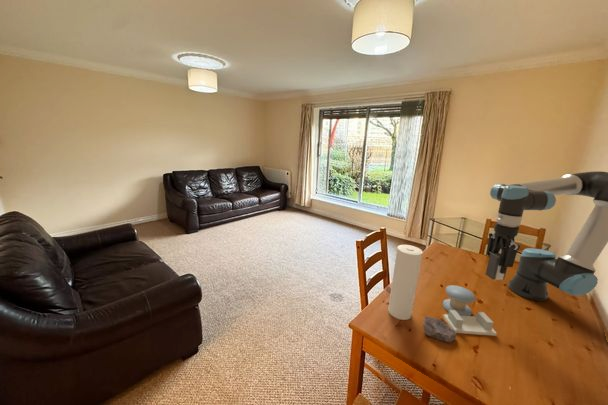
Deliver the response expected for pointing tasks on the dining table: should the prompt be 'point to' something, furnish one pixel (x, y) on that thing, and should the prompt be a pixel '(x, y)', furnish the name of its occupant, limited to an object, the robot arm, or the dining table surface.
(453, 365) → the dining table surface
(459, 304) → the spool
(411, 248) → the cylinder container
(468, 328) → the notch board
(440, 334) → the rock
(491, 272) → the gray rectangular block
